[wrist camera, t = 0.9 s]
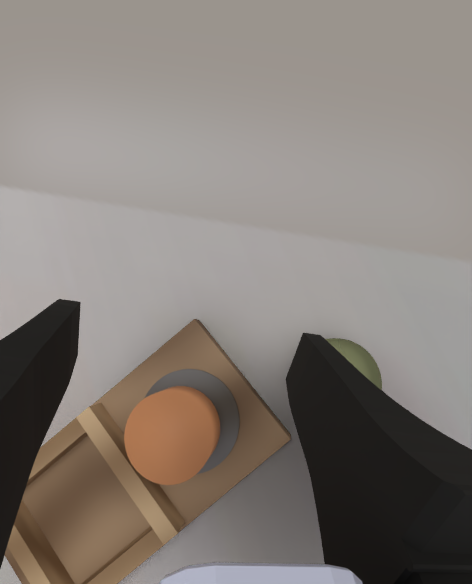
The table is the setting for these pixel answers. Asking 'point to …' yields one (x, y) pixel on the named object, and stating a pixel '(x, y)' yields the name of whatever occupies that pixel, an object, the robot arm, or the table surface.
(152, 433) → the button
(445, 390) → the table surface
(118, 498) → the board
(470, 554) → the robot arm
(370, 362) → the cell
